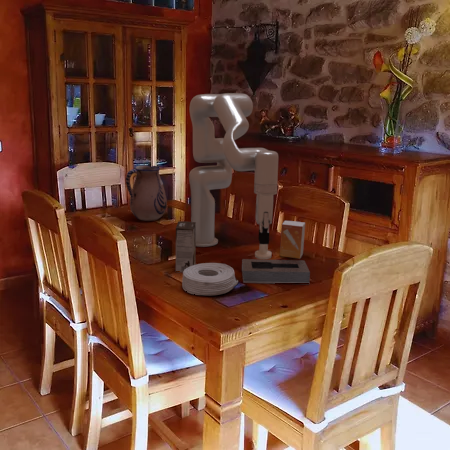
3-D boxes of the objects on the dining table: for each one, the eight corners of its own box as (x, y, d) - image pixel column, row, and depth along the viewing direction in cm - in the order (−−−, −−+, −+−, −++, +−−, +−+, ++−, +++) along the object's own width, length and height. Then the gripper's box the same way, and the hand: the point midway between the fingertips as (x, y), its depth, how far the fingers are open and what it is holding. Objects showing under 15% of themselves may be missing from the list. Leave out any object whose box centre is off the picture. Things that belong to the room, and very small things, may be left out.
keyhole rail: (243, 282, 176) (243, 270, 175) (241, 270, 187) (242, 259, 186) (309, 284, 176) (310, 272, 175) (303, 271, 188) (304, 260, 186)
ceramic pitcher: (174, 218, 255) (174, 166, 249) (145, 227, 238) (144, 172, 232) (146, 212, 264) (145, 162, 258) (116, 221, 247) (115, 168, 240)
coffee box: (178, 263, 192) (178, 220, 188) (195, 264, 192) (196, 221, 188) (175, 272, 184) (175, 227, 179) (193, 273, 183) (193, 228, 179)
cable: (240, 281, 178) (241, 264, 176) (228, 301, 162) (229, 282, 160) (190, 275, 182) (190, 259, 180) (174, 294, 165) (174, 276, 164)
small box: (279, 256, 203) (281, 223, 200) (282, 251, 209) (284, 220, 206) (300, 259, 201) (302, 226, 197) (303, 254, 207) (305, 222, 203)
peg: (255, 259, 176) (256, 218, 173) (254, 253, 182) (255, 214, 178) (272, 259, 177) (273, 218, 173) (270, 254, 182) (272, 214, 178)
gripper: (252, 184, 181) (251, 235, 186) (255, 193, 165) (254, 249, 170) (274, 184, 181) (272, 236, 186) (279, 193, 166) (277, 249, 170)
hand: (263, 241), depth 178 cm, fingers closed on peg, 2 cm apart
